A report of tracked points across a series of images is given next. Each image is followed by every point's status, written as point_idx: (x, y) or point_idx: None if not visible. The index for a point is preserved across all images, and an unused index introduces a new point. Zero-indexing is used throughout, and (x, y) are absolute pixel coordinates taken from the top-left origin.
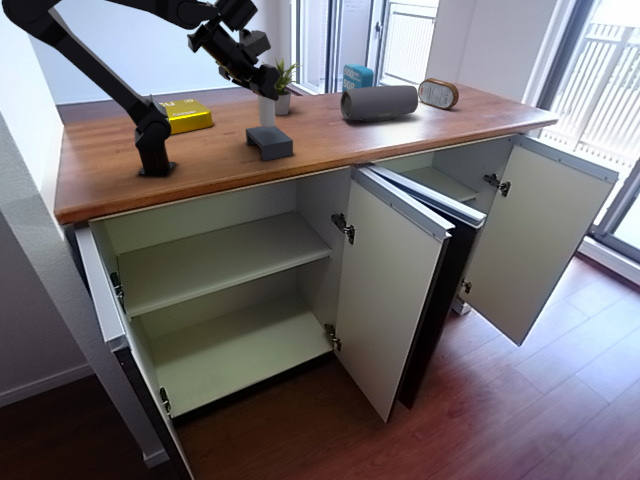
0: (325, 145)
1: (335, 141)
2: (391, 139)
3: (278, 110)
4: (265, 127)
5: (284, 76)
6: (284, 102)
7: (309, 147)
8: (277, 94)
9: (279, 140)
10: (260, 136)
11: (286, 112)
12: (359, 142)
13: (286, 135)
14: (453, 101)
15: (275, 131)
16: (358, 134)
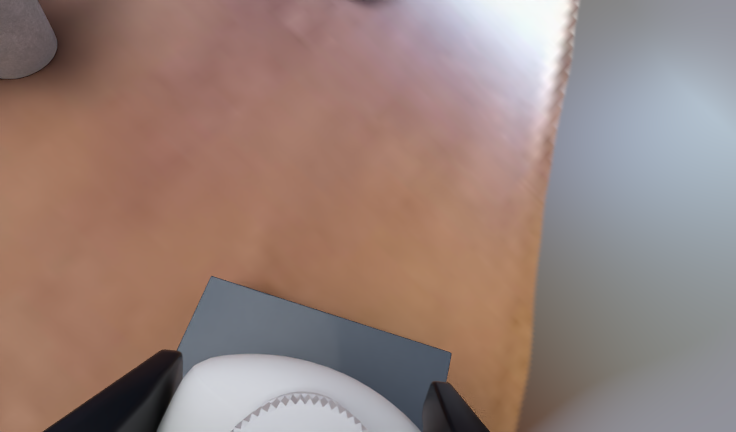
0: (433, 186)
1: (428, 134)
2: (524, 14)
3: (14, 60)
4: (211, 346)
5: None
6: (18, 10)
7: (408, 244)
8: (479, 422)
9: (413, 415)
10: None
11: (53, 42)
12: (485, 89)
13: (383, 335)
14: None
15: (300, 342)
16: (432, 40)
